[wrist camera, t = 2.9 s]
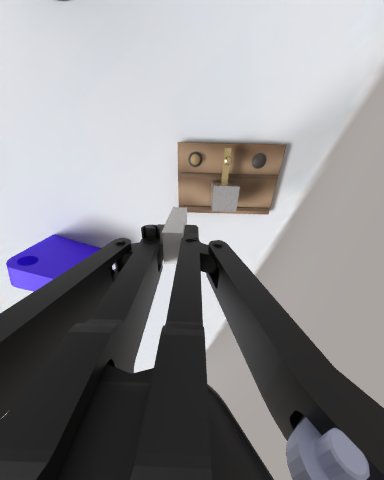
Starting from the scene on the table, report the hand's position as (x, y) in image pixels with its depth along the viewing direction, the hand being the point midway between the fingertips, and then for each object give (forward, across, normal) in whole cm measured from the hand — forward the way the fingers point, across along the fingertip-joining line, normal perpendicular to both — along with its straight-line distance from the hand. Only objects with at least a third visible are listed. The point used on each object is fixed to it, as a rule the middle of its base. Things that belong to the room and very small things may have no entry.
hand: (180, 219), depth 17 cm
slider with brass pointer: (+14, +6, +3) cm, 16 cm away
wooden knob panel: (+16, +8, +2) cm, 18 cm away
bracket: (+16, -29, -21) cm, 39 cm away
